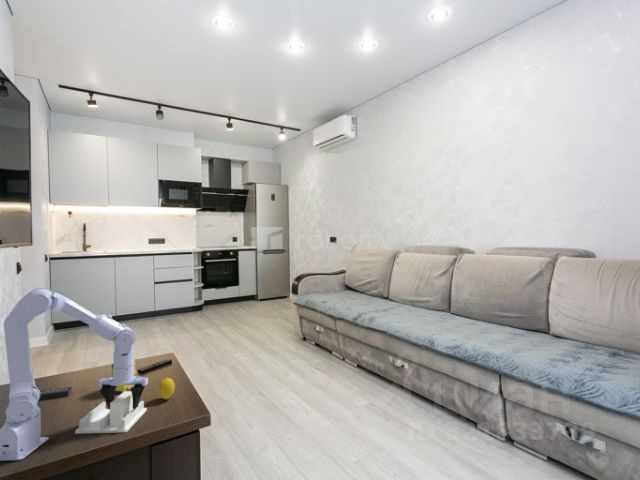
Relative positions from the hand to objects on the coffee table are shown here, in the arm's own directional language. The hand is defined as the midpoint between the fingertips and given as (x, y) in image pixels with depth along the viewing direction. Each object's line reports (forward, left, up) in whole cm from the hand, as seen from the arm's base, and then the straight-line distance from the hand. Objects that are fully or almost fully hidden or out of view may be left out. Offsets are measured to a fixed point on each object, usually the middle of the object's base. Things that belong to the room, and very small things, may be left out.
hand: (123, 407), depth 105 cm
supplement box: (+23, +12, -4) cm, 26 cm away
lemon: (+14, -8, -4) cm, 17 cm away
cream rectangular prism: (0, 0, -3) cm, 3 cm away
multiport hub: (+18, +36, -5) cm, 40 cm away
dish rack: (0, +3, -4) cm, 5 cm away
